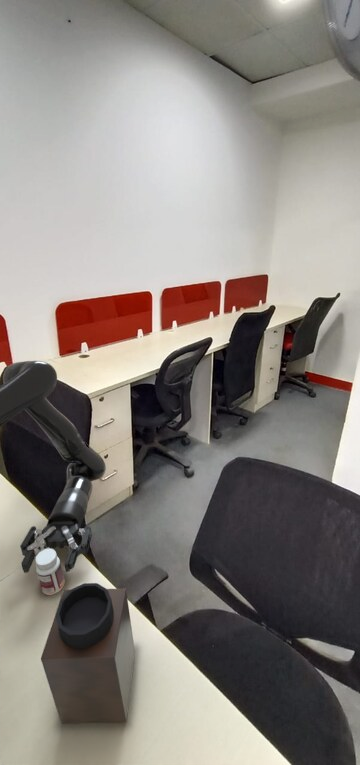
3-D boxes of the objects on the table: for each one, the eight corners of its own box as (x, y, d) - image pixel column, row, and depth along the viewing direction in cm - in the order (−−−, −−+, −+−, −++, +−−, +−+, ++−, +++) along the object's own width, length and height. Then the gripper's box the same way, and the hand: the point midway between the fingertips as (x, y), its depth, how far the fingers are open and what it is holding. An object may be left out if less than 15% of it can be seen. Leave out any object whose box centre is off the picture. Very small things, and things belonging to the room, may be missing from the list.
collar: (51, 649, 49) (47, 636, 48) (68, 595, 56) (65, 582, 55) (108, 648, 48) (105, 635, 47) (117, 594, 56) (115, 581, 55)
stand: (60, 723, 54) (40, 658, 48) (78, 651, 63) (63, 589, 57) (126, 722, 54) (114, 657, 47) (135, 650, 63) (125, 588, 57)
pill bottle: (58, 571, 78) (51, 542, 75) (69, 584, 75) (62, 556, 72) (37, 585, 75) (29, 556, 72) (47, 600, 72) (39, 571, 69)
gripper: (37, 499, 86) (6, 556, 71) (96, 498, 85) (78, 555, 70) (43, 523, 89) (15, 583, 74) (100, 522, 88) (83, 582, 73)
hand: (45, 569), depth 72 cm, fingers open, 8 cm apart
